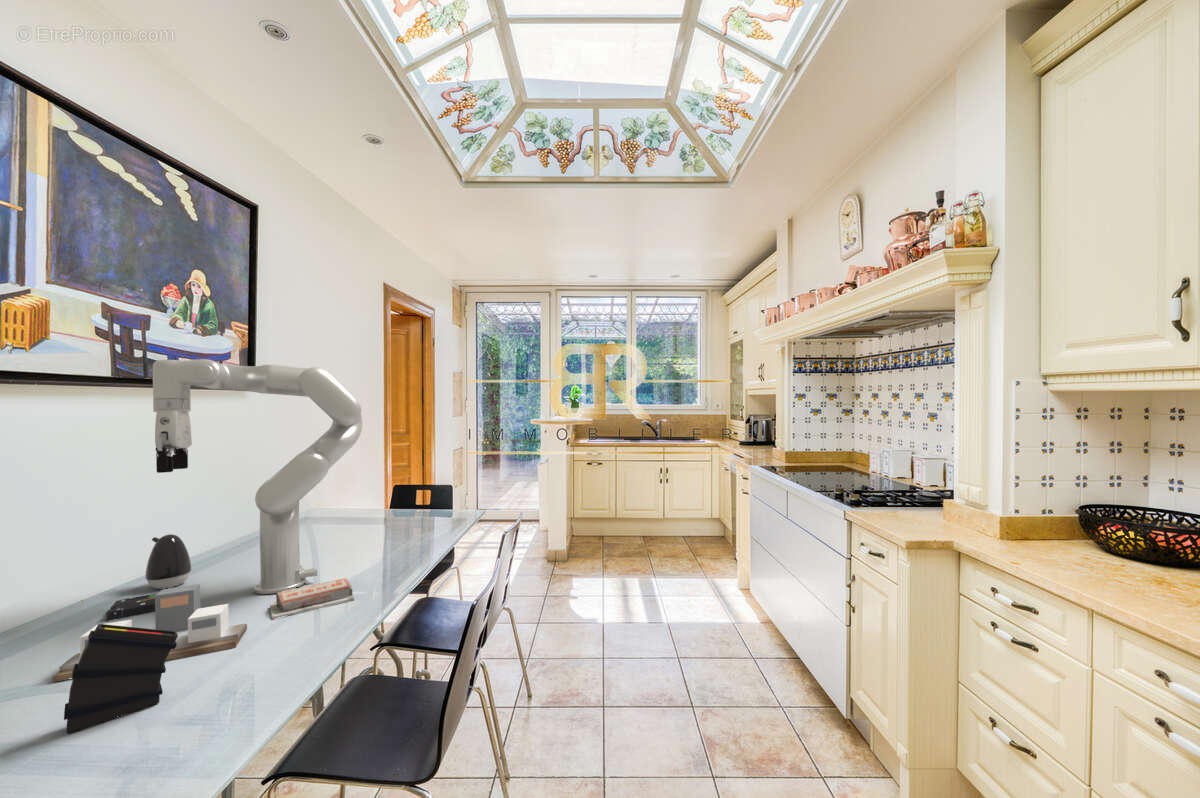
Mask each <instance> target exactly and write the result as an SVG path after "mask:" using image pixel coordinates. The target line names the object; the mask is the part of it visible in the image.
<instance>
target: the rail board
mask: <svg viewBox="0 0 1200 798" xmlns="http://www.w3.org/2000/svg"><path fill="white" fill-rule="evenodd" d="M247 631H248V623H239V624H235V625H229V626H228V628H227V629H226V631H225V632H224V633H223V635H222V636H221V637H219V638H214V639H209V640H203V641H198V642H192V643H188V633H184V634H178V637H177V639H176V643H177V645H176V647H175V649H171V650H170V652H169V654H168V656H167V658H166V660H168V661H170V660H169V659H173V660H177V659H176V658H178V659H183V658H182V657H184V658H188V657H192V656H199V655H202V654H208V653H209V654H210V653H215V652H218V651H225V650H229V649H234V648H237V646H238V644H239V643H240V642H241V640H242V638H243V636H244V635H245V634H246V632H247ZM79 661H80V652H78V653H76V654H74V655H73V656H72V657H70V658H69V659H68V660H65V662H64V663H63V664H61V665H60V666H59V667H58V668H59V669H58V672H56V673H55V674H54V675H53V676H52V683H53V682H55V681H60V682H62V681H61V680H65V681H67V680H66V679H69V678H72V672H73V668H74V665H75V664H78V663H79ZM55 683H56V682H55Z"/></svg>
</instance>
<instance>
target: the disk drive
mask: <svg viewBox="0 0 1200 798" xmlns="http://www.w3.org/2000/svg"><path fill="white" fill-rule="evenodd" d="M158 593H159V592H155V593H150V594H147V595H146V594H145V595H141V596H135V597H129V598H124V599H118V600H116V601H114V603H113V604H112V605H111V606H110V609H108V610H107V611H106V612H105V613H106V614H105V615H106V617H105V618H106V621H105V622H110V621H109V620H111V621H116V620H120V619H124V618H125V617H126V618H131V617H135V615H136V616H139V615H140V616H141V615H145V613H146V614H151V613H154V612H155V595H156V594H158ZM130 616H131V617H130ZM115 619H116V620H115Z"/></svg>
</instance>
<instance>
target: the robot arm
mask: <svg viewBox="0 0 1200 798" xmlns="http://www.w3.org/2000/svg"><path fill="white" fill-rule="evenodd" d="M191 386H194V387H195V386H196V387H202V388H206V389H210V390H223V391H225V390H226V391H237V392H238V391H239V392H249V393H250V392H251V393H258V394H264V395H265V394H267V395H278V396H279V395H281V396H294V397H295V396H296V397H304V398H307V397H308V398H309V399H310V400H311V401H312V402H314V403H315V405H316V406H317V407H319V408H320V409H321V410H322V411H323V412H324V413H325V414H326V415H327V416H328V417H329V418H330V419H331V420H332V423H331V425H330V427H329V428H328V429H327V430H326V431H325V432H324V433H323V434H322V435H320V437H319V438H317V440H315V441H314V442H313V443H311V445H310V446H308V447H307V448H306V449H304V450H302V451H301V452H299V453H298V454H297V455H295V457H293V458H292V459H291V460H290V461H289V462H287V464H285V465H284V466H283V467H282V468H281V469H279V471H276V473H274V475H272V476H271V477H270V478H269V479H267V480H265V482H263V484H262V485H260V486H259V488H258V489H257V491H256V492H255V493H256V494H255V497H254V502H255V505H256V507H257V509H258V510H259V567H260V569H259V570H260V577H259V578H260V582H259V583H258V584H256V585H255V586H253V593H255V594H257V595H272V594H277V593H279V592H282V591H286V590H291V589H294V588H295V589H296V587H298V588H300V587H302V586H303V585H305V584H306V583H305V582H307V578H308V577H310V578H312V577H317V576H318V568H309V569H308V568H307V569H305V568H303V565H302V564H301V563H300V561H301V560H300V557H301V556H300V554H301V553H300V500H302V499H303V498H304V497H306V495H307V494H308V493H309V492H311V491H312V490H313V489H315V487H317V485H318V484H319V483H320V482H321V481H322V480H323V479H324V478H325V477H326V476H327V474H328V472H329V470H330V469H331V467H333V466H334V465H335V464H336V463H337V462H338V461H339V460H340V459H342V457H343V456H344V455H345V454H347V453H348V452H349V451H350V449H351V448H352V447H354V445H355V444H356V442H357V441H358V440H359V438H360V435H361V433H362V428H363V418H362V417H363V416H362V406H361V404H360V402H359V401H358V400H357V399H356V397H354V396H353V395H352V394H351V393H350V392H349V391H348V390H346V388H345V387H344V386H342V385H341V383H340V382H338V381H337V379H335V378H334V376H333V375H332V374H331V372H328V371H327V370H326V369H325V368H322V367H318V366H317V367H316V366H312V367H309V368H307V367H296V366H287V365H278V364H262V365H256V366H253V365H250V366H249V365H237V364H227V363H226V364H224V363H219V362H217V361H215V360H211V359H208V358H207V359H206V358H200V359H192V360H191V359H190V360H181V359H180V360H179V359H158V360H156V361H154V362H153V364H152V405H153V407H152V408H153V409H152V410H153V413H156V414H155V424H154V444H155V452H156V453H155V456H156V457H155V458H156V462H155V463H156V473H158V474H160V473H172V472H174V470H184V469H185V470H186V469H188V468H189V467H188V466H189V455H188V453H189V450H188V448H190V447H191V446H192V430H191V429H192V428H191V427H192V426H191V418H190V413H189V412H191V411H192V410H191V405H192V404H191ZM300 564H301V565H300ZM304 583H305V584H304ZM301 585H302V586H301ZM299 586H300V587H299Z"/></svg>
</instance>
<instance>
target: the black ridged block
mask: <svg viewBox="0 0 1200 798" xmlns="http://www.w3.org/2000/svg"><path fill="white" fill-rule="evenodd" d="M106 624H107V623H99V624H97V625H98V626H97V627H96V629H95V631H91V632H90V634H89V636H88V643H87V645H86V646H85V648H84V650H83V652H82V655H81V658H80V661H79V663H78V664H75V665H74V668H73V672H72V679H71V680H72V681H71V684H70V688H69V696H68V702H66V703H65V704H64V712H63V713H64V714H63V720H64V721H66V730H65V731H66V734H67V735H70V734H73V733H75V732H78V730H79V731H81V729H82V730H85V729H88V728H90V726H91V727H93V725H94V726H96V725H100V724H102V723H105V722H107V721H111V720H113V719H112V718H114V717H117V716H120V717H122V716H121V715H123V716H125V715H124V714H126V715H128V714H127V713H129V714H131V713H130V712H132V713H135V712H137V710H138V711H140V710H143V709H146V708H149V707H151V706H150V705H152V706H154V704H155V705H157V703H158V704H160V700H161V699H160V696H162V695H163V688H162V687H163V686H162V684H161V681H162V674H165V673H166V671H167V668H166V666H165V664H166V662H167V661H166V658H167V656H168V654H169V652H170V650H171V649H175V647H176V645H177V643H176V639H177V637H178V635H179V634H178V632H175V631H166V630H156V629H155V628H146V627H145V628H143V627H134V626H132V627H126V626H116V625H106ZM148 706H149V707H148ZM145 707H146V708H145ZM134 711H135V712H134ZM117 718H118V717H117ZM110 719H111V720H110ZM114 719H115V718H114ZM87 727H88V728H87ZM84 728H85V729H84Z"/></svg>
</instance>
